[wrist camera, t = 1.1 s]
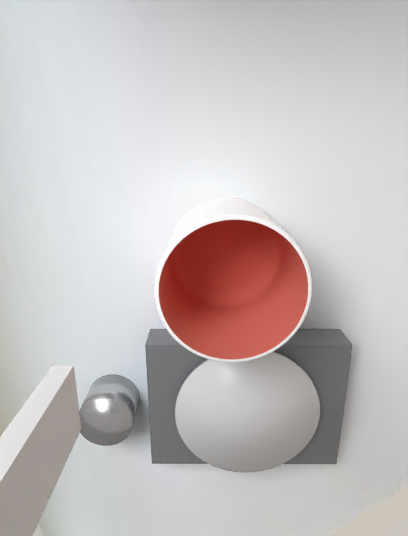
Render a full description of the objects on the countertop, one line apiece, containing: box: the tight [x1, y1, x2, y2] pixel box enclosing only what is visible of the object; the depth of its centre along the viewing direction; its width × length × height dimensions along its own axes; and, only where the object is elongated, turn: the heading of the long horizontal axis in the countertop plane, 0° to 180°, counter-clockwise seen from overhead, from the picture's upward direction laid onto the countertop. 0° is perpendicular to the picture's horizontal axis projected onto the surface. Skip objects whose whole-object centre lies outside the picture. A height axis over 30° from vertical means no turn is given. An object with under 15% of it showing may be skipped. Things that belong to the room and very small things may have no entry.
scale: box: [145, 329, 352, 472], centre depth 35 cm, size 13×18×4 cm
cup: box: [154, 198, 312, 362], centre depth 28 cm, size 10×10×10 cm
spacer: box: [79, 375, 139, 446], centre depth 35 cm, size 5×5×4 cm
